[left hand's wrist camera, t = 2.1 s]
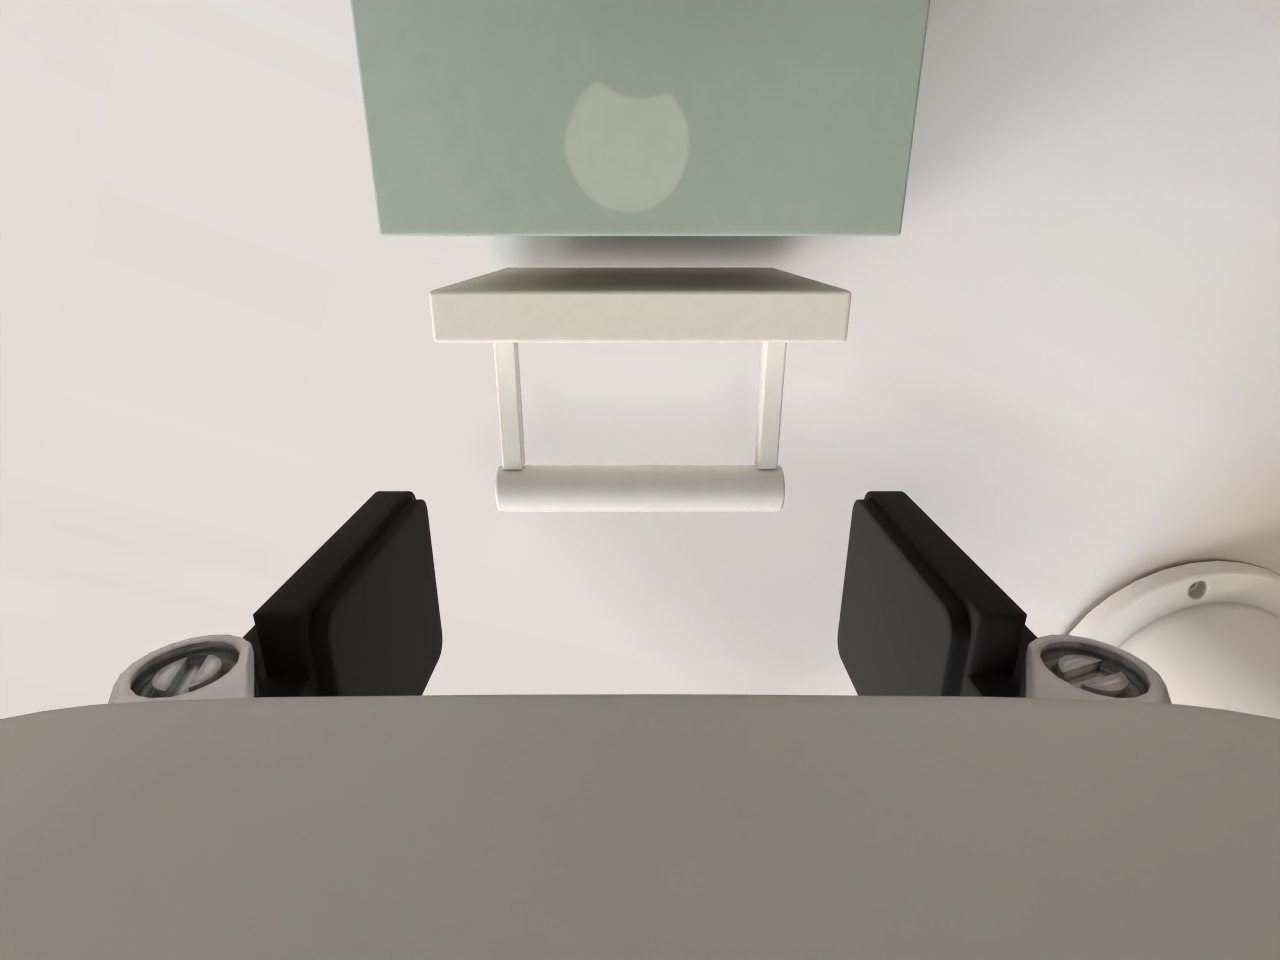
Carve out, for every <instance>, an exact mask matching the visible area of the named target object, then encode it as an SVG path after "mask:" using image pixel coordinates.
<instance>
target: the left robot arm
mask: <svg viewBox="0 0 1280 960" xmlns="http://www.w3.org/2000/svg"><path fill="white" fill-rule="evenodd" d="M253 617H254V621H255V626H254V627H253V628H252V629H251V630H250V631H249V632H248V633H247V634H246V635H245V636H244V637H243V638H241V637H236V636H232V635H208V636H202V637H195V638H190V639H187V640H183V641H180V642H176V643H173V644H170V645H167V646H165V647H163V648H160V649H158V650H156V651H153V652H151V653H149V654H148V655H146V656H144V657H143V658H141V659H139V660H138V661H136V662H134V663H133V664H132V665H131V666H129V667H128V668H127V669H126V670H125V671H124V672H123V673H121V674H120V676H119V678H118V679H117V681H116V683H115V684H114V686H113V690H112V693H111V696H110V699H109V703H108V704H100V705H88V706H81V707H73V708H65V709H57V710H50V711H42V712H37V713H32V714H26V715H21V716H16V717H10V718H5V719H0V960H1280V576H1279V575H1277V574H1276V573H1274V572H1272V571H1270V570H1267V569H1264V568H1260V567H1257V566H1253V565H1250V564H1247V563H1239V562H1227V561H1210V562H1197V563H1189V564H1185V565H1181V566H1177V567H1173V568H1168V569H1164V570H1161V571H1159V572H1156V573H1154V574H1151V575H1149V576H1146V577H1144V578H1141V579H1139V580H1136V581H1134V582H1133V583H1131V584H1129V585H1127V586H1126V587H1124V588H1122V589H1121V590H1119V591H1117V592H1115V593H1114V594H1112V595H1110V596H1109V597H1108V598H1106V599H1105V600H1104V601H1103V602H1101V603H1100V604H1099V605H1098V606H1096V607H1095V608H1094V609H1093V610H1091V611H1090V612H1089V613H1088V614H1087V615H1086V616H1085V617H1084V618H1083V619H1082V620H1081V621H1080V622H1079V623H1078V624H1077V626H1076V627H1075V628H1074V629H1073V630H1072V631H1071V632H1070V633H1069V635H1048V636H1044V637H1039V638H1037V637H1036V636H1035V635H1034V634H1033V633H1032V632H1031V631H1030V630H1029V629H1028V628H1027V627H1026V625H1025V621H1026V617H1027V614H1026V613H1025V612H1024V611H1023V610H1022V609H1021V608H1020V607H1019V606H1018V605H1017V604H1016V603H1015V602H1014V601H1013V600H1012V599H1011V598H1010V597H1009V596H1008V595H1007V594H1006V593H1005V592H1004V591H1003V590H1002V589H1001V588H1000V587H999V586H998V585H997V584H996V583H995V582H994V581H993V580H992V579H991V578H990V577H989V576H988V575H987V574H986V573H985V572H984V571H983V570H982V569H981V568H980V567H979V566H978V565H977V564H976V563H975V562H974V561H973V560H972V559H971V558H970V557H969V556H968V555H967V554H966V553H965V552H964V551H963V550H962V549H961V548H960V547H959V546H958V545H957V544H956V543H955V542H954V541H953V540H952V539H951V538H950V537H948V536H947V535H946V534H945V533H944V532H943V531H942V530H941V529H940V528H939V527H938V526H937V525H936V524H935V523H934V522H933V521H932V520H931V519H930V518H929V517H928V516H927V515H926V514H925V513H924V512H923V511H922V510H921V509H920V508H919V507H918V506H917V505H916V504H915V503H914V502H913V501H912V500H911V499H910V498H909V497H908V496H907V495H906V494H905V493H904V492H902V491H870V492H868V493H867V494H866V495H865V498H864V500H856V501H855V503H854V506H853V511H852V519H851V528H850V536H849V545H848V553H847V562H846V570H845V578H844V587H843V595H842V604H841V612H840V621H839V629H838V650H839V654H840V657H841V660H842V662H843V664H844V666H845V668H846V670H847V672H848V675H849V677H850V679H851V681H852V683H853V685H854V687H855V690H856V692H857V694H858V696H831V695H657V694H630V695H436V696H422V694H423V692H424V690H425V687H426V685H427V683H428V681H429V679H430V677H431V675H432V673H433V670H434V668H435V666H436V664H437V662H438V660H439V657H440V655H441V650H442V629H441V621H440V612H439V604H438V595H437V587H436V578H435V570H434V561H433V553H432V545H431V536H430V528H429V519H428V511H427V506H426V503H425V501H424V500H416V498H415V495H414V494H413V493H412V492H410V491H378V492H376V493H375V494H374V495H373V496H372V497H371V498H370V499H369V500H368V501H367V502H366V503H365V504H364V505H363V506H362V507H361V508H360V509H359V510H358V511H357V512H356V513H355V514H354V515H353V516H352V517H351V518H350V519H349V520H348V521H347V522H346V523H345V524H344V525H343V526H342V527H341V528H340V529H339V530H338V531H337V532H336V533H335V534H334V535H333V536H332V537H331V538H330V539H329V540H327V541H326V542H325V543H324V544H323V545H322V546H321V547H320V548H319V549H318V550H317V551H316V552H315V553H314V554H313V555H312V556H311V557H310V558H309V559H308V560H307V561H306V562H305V563H304V564H303V565H302V566H301V567H300V568H299V569H298V570H297V571H296V572H295V573H294V574H293V575H292V576H291V577H290V578H289V579H288V580H287V581H286V582H285V583H284V584H283V585H282V586H281V587H280V588H279V589H278V590H277V591H276V592H275V593H274V594H273V595H272V596H271V597H270V598H269V599H268V600H267V601H266V602H265V603H264V604H263V605H262V606H261V607H260V608H259V609H258V610H257V611H256V612H255V613H254V614H253Z"/></svg>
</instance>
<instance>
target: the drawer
mask: <svg viewBox="0 0 1280 960" xmlns="http://www.w3.org/2000/svg"><path fill="white" fill-rule="evenodd" d="M429 298H430V308H431V317H432V327H433V336H434V340H435V341H436V342H493V343H494V356H495V369H496V383H497V396H498V409H499V423H500V436H501V449H502V463H503V466H500V467H499V468H498V471H497V475H496V484H495V494H496V502H497V506H498V509H499V510H500V511H780V510H781V509H782V507H783V503H784V497H785V481H784V474H783V470H782V468H781V467H780V466H777V463H778V450H779V437H780V424H781V410H782V397H783V384H784V370H785V357H786V344H787V342H844V341H846V339H847V331H848V321H849V312H850V302H851V292H850V291H848V290H844V289H841V288H838V287H834V286H831V285H828V284H824V283H821V282H818V281H814V280H811V279H808V278H804V277H801V276H798V275H794V274H791V273H788V272H784V271H781V270H778V269H774V268H505V269H502V270H499V271H496V272H492V273H489V274H486V275H482V276H479V277H476V278H472V279H469V280H466V281H462V282H459V283H456V284H452V285H449V286H446V287H443V288H439V289H436V290H433V291H430V293H429ZM518 342H763V343H762V359H761V375H760V391H759V407H758V423H757V439H756V455H755V463H756V465H757V466H524V464H525V450H524V434H523V418H522V402H521V386H520V370H519V354H518Z"/></svg>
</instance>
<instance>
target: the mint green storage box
mask: <svg viewBox="0 0 1280 960" xmlns="http://www.w3.org/2000/svg"><path fill="white" fill-rule="evenodd" d="M929 4H930V0H351V8H352V16H353V24H354V32H355V40H356V48H357V55H358V63H359V71H360V79H361V87H362V95H363V103H364V111H365V119H366V127H367V135H368V143H369V151H370V159H371V166H372V174H373V182H374V190H375V198H376V206H377V214H378V222H379V230H380V234H381V235H382V236H898V235H900V233H901V226H902V218H903V210H904V202H905V194H906V186H907V178H908V171H909V163H910V155H911V147H912V139H913V131H914V123H915V115H916V107H917V99H918V91H919V84H920V76H921V68H922V60H923V52H924V44H925V36H926V28H927V20H928V12H929Z"/></svg>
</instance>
